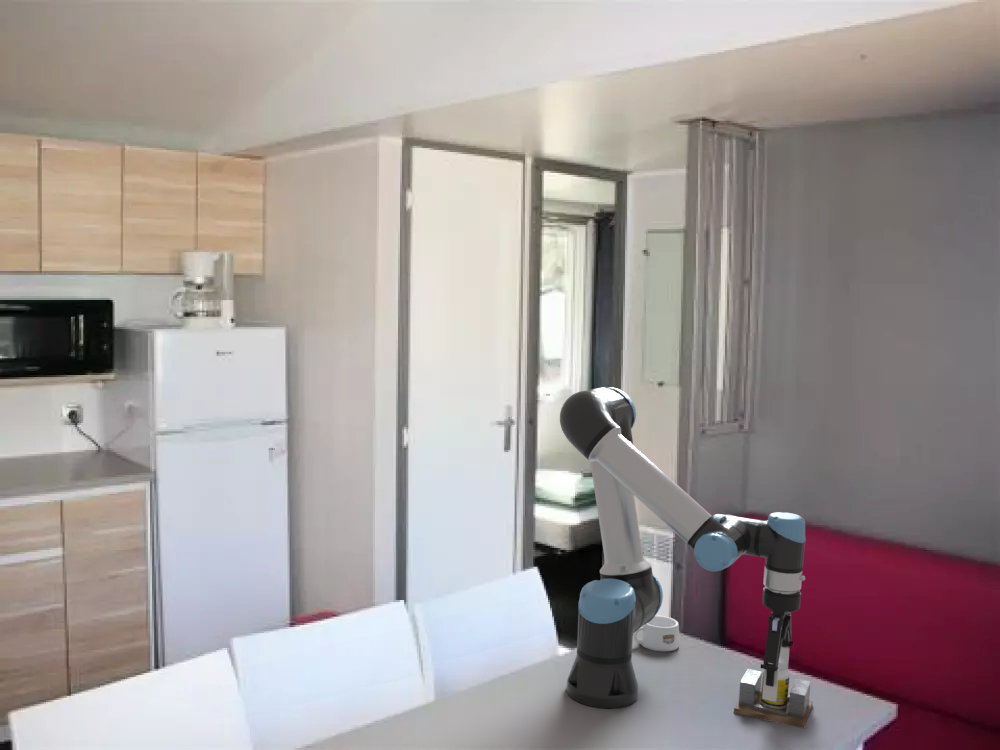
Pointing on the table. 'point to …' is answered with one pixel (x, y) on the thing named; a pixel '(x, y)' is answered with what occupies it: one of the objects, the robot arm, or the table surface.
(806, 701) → the grey rectangular frame
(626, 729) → the table surface
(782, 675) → the supplement bottle
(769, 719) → the mount board
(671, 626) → the mug
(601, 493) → the robot arm
